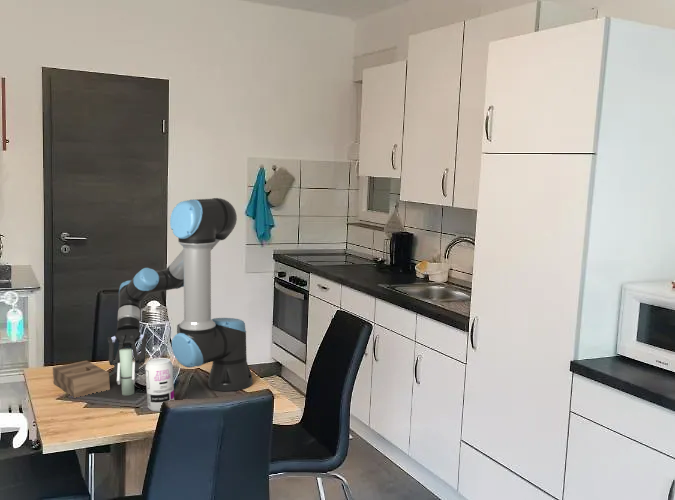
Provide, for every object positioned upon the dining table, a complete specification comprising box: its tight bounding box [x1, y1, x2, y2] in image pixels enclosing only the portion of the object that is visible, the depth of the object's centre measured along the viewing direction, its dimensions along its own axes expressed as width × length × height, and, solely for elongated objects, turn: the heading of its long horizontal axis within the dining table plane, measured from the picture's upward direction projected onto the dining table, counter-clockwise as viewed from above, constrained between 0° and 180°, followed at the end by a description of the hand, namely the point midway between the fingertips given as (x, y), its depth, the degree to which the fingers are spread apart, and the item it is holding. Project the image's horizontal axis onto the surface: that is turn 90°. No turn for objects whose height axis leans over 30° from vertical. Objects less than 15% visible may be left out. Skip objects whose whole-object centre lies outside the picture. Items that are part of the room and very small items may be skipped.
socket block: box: [52, 360, 111, 399], centre depth 235 cm, size 20×12×6 cm, turn 41°
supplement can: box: [145, 357, 175, 412], centre depth 213 cm, size 8×8×15 cm
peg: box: [119, 347, 135, 396], centre depth 226 cm, size 4×4×15 cm
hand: (126, 381), depth 223 cm, fingers closed on peg, 4 cm apart
